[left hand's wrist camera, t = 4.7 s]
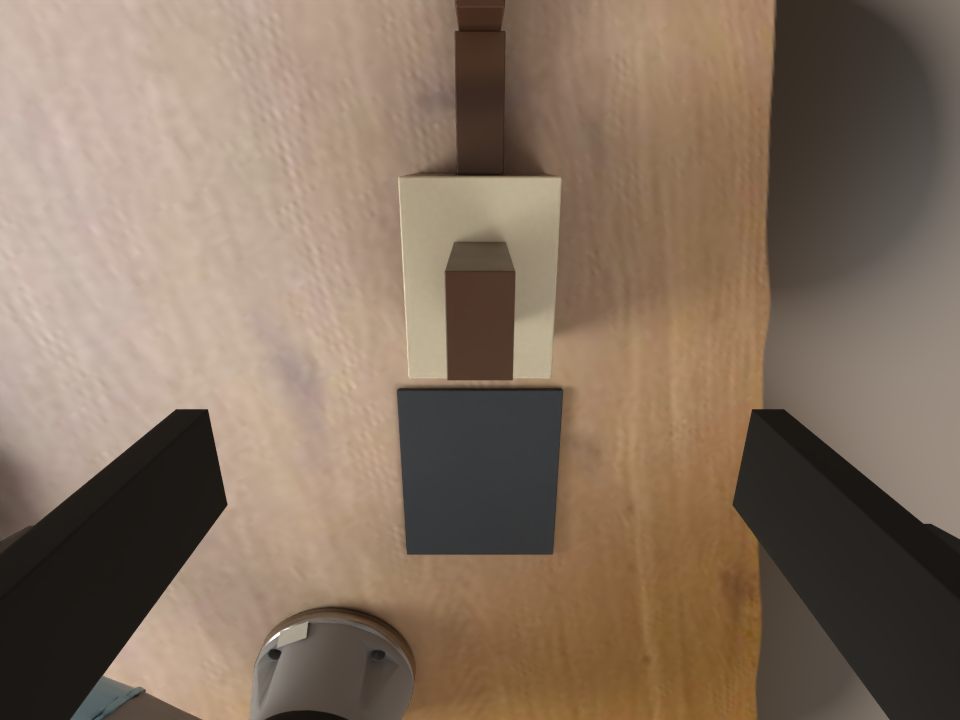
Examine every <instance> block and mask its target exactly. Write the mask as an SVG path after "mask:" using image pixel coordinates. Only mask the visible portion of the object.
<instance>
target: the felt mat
mask: <svg viewBox="0 0 960 720" xmlns="http://www.w3.org/2000/svg"><path fill="white" fill-rule="evenodd" d="M397 398H398V414H399V431H400V447H401V463H402V479H403V495H404V512H405V528H406V544H407V554H553V544H554V528H555V512H556V496H557V479H558V463H559V447H560V431H561V414H562V398H563V390H562V389H398V390H397Z"/></svg>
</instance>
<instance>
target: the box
mask: <svg viewBox="0 0 960 720" xmlns="http://www.w3.org/2000/svg"><path fill="white" fill-rule="evenodd" d="M455 8H456V15H457V21H458V27H459V31H455V86H456V154H457V174H411V175H406V176H554V175H549V174H503V154H504V87H505V31H501V27H502V21H503V15H504V8H505V0H455Z"/></svg>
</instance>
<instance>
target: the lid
mask: <svg viewBox="0 0 960 720" xmlns="http://www.w3.org/2000/svg"><path fill="white" fill-rule="evenodd" d="M398 185H399V204H400V223H401V242H402V261H403V280H404V299H405V318H406V337H407V356H408V375H409V378H447V380H513V378H551V376H552V357H553V338H554V318H555V299H556V280H557V261H558V242H559V223H560V204H561V185H562V178H561V177H559V176H401V177H399V178H398Z"/></svg>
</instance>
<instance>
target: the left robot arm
mask: <svg viewBox="0 0 960 720" xmlns="http://www.w3.org/2000/svg"><path fill="white" fill-rule="evenodd" d="M226 506H227V500H226V495H225V491H224V486H223V481H222V476H221V471H220V466H219V461H218V456H217V452H216V447H215V442H214V437H213V432H212V427H211V422H210V417H209V412H208V409H176V410H175V411H174V412H172V413H171V414H170V415H169V416H167V417H166V418H165V419H164V420H163V421H161V422H160V423H159V424H158V425H156V426H155V427H154V428H153V429H152V430H150V431H149V432H148V433H147V434H145V435H144V436H143V437H142V438H141V439H139V440H138V441H137V442H136V443H135V444H133V445H132V446H131V447H130V448H128V449H127V450H126V451H125V452H124V453H122V454H121V455H120V456H119V457H117V458H116V459H115V460H114V461H113V462H111V463H110V464H109V465H108V466H106V467H105V468H104V469H103V470H102V471H100V472H99V473H98V474H97V475H95V476H94V477H93V478H92V479H91V480H89V481H88V482H87V483H86V484H85V485H83V486H82V487H81V488H80V489H78V490H77V491H76V492H75V493H74V494H72V495H71V496H70V497H69V498H67V499H66V500H65V501H64V502H63V503H61V504H60V505H59V506H58V507H56V508H55V509H54V510H53V511H52V512H50V513H49V514H48V515H47V516H46V517H44V518H43V519H42V520H41V521H39V522H38V523H37V524H36V525H35V526H28V527H26V528H25V529H23V530H21V531H19V532H17V533H15V534H13V535H12V536H10V537H8V538H6V539H4V540H2V541H1V542H0V720H202V719H200V718H197V717H195V716H193V715H191V714H189V713H187V712H184V711H182V710H180V709H178V708H176V707H174V706H172V705H170V704H168V703H166V702H164V701H162V700H160V699H158V698H156V697H154V696H152V695H150V694H148V693H146V690H145V689H143V688H142V687H137V688H133V687H131V686H128V685H125V684H123V683H120V682H117V681H115V680H112V679H109V678H107V677H105V676H103V674H104V673H105V671H106V670H107V669H108V667H109V666H110V665H111V663H112V662H113V661H114V659H115V658H116V656H117V655H118V654H119V652H120V651H121V650H122V648H123V647H124V646H125V644H126V643H127V641H128V640H129V639H130V637H131V636H132V635H133V633H134V632H135V631H136V629H137V628H138V626H139V625H140V624H141V622H142V621H143V620H144V618H145V617H146V616H147V614H148V613H149V611H150V610H151V609H152V607H153V606H154V605H155V603H156V602H157V600H158V599H159V598H160V596H161V595H162V594H163V592H164V591H165V590H166V588H167V587H168V585H169V584H170V583H171V581H172V580H173V579H174V577H175V576H176V575H177V573H178V572H179V570H180V569H181V568H182V566H183V565H184V564H185V562H186V561H187V560H188V558H189V557H190V555H191V554H192V553H193V551H194V550H195V549H196V547H197V546H198V545H199V543H200V542H201V540H202V539H203V538H204V536H205V535H206V534H207V532H208V531H209V530H210V528H211V527H212V525H213V524H214V523H215V521H216V520H217V519H218V517H219V516H220V514H221V513H222V512H223V510H224V509H225V508H226ZM733 506H734V508H735V509H736V510H737V512H738V513H739V514H740V516H741V517H742V519H743V520H744V521H745V523H746V524H747V525H748V527H749V528H750V530H751V531H752V532H753V534H754V535H755V536H756V538H757V539H758V540H759V542H760V543H761V545H762V546H763V547H764V549H765V550H766V551H767V553H768V554H769V555H770V557H771V558H772V560H773V561H774V562H775V564H776V565H777V566H778V568H779V569H780V570H781V572H782V573H783V575H784V576H785V577H786V579H787V580H788V581H789V583H790V584H791V585H792V587H793V588H794V590H795V591H796V592H797V594H798V595H799V596H800V598H801V599H802V600H803V602H804V603H805V605H806V606H807V607H808V609H809V610H810V611H811V613H812V614H813V616H814V617H815V618H816V620H817V621H818V622H819V624H820V625H821V626H822V628H823V629H824V630H825V632H826V633H827V635H828V636H829V637H830V639H831V640H832V641H833V643H834V644H835V646H836V647H837V648H838V650H839V651H840V652H841V654H842V655H843V656H844V658H845V659H846V661H847V662H848V663H849V665H850V666H851V667H852V669H853V670H854V671H855V673H856V674H857V676H858V677H859V678H860V680H861V681H862V682H863V684H864V685H865V687H866V688H867V689H868V691H869V692H870V693H871V695H872V696H873V697H874V699H875V700H876V702H877V703H878V704H879V706H880V707H881V708H882V710H883V711H884V712H885V714H886V715H887V717H888V718H889V719H890V720H960V539H958V538H956V537H954V536H953V535H951V534H949V533H947V532H945V531H943V530H941V529H940V528H938V527H936V526H934V525H932V524H923V523H922V522H921V521H919V520H918V519H917V518H916V517H914V516H913V515H912V514H911V513H910V512H908V511H907V510H906V509H905V508H903V507H902V506H901V505H900V504H899V503H897V502H896V501H895V500H894V499H893V498H891V497H890V496H889V495H888V494H886V493H885V492H884V491H883V490H882V489H880V488H879V487H878V486H877V485H875V484H874V483H873V482H872V481H871V480H869V479H868V478H867V477H866V476H865V475H863V474H862V473H861V472H860V471H858V470H857V469H856V468H855V467H854V466H852V465H851V464H850V463H849V462H847V461H846V460H845V459H844V458H843V457H841V456H840V455H839V454H838V453H836V452H835V451H834V450H833V449H832V448H830V447H829V446H828V445H827V444H825V443H824V442H823V441H822V440H821V439H819V438H818V437H817V436H816V435H814V434H813V433H812V432H811V431H810V430H808V429H807V428H806V427H805V426H804V425H802V424H801V423H800V422H799V421H797V420H796V419H795V418H794V417H793V416H791V415H790V414H789V413H788V412H786V411H785V410H784V409H752V412H751V417H750V422H749V427H748V432H747V437H746V442H745V447H744V452H743V456H742V461H741V466H740V471H739V476H738V481H737V486H736V491H735V495H734V500H733ZM414 680H415V661H414V657H413V654H412V652H411V650H410V648H409V646H408V644H407V643H406V642H405V640H404V639H403V638H402V637H401V636H400V635H399V634H398V633H397V632H396V631H395V630H394V629H393V628H391V627H390V626H388V625H387V624H385V623H384V622H382V621H380V620H378V619H376V618H374V617H372V616H370V615H367V614H364V613H360V612H357V611H352V610H347V609H338V608H323V609H315V610H309V611H305V612H302V613H299V614H296V615H294V616H292V617H289V618H287V619H286V620H284V621H283V622H281V623H280V624H279V625H277V626H276V627H275V628H274V629H273V630H272V631H271V632H270V634H269V635H268V636H267V638H266V640H265V642H264V644H263V646H262V648H261V651H260V653H259V655H258V657H257V660H256V663H255V667H254V673H253V684H252V695H251V707H250V718H249V720H402V718H403V716H404V714H405V712H406V710H407V708H408V705H409V702H410V700H411V698H412V694H413V688H414Z"/></svg>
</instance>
